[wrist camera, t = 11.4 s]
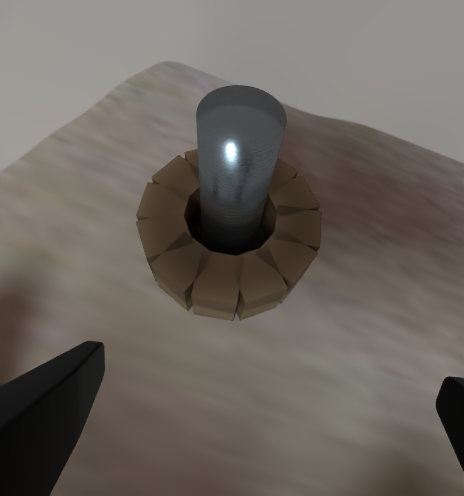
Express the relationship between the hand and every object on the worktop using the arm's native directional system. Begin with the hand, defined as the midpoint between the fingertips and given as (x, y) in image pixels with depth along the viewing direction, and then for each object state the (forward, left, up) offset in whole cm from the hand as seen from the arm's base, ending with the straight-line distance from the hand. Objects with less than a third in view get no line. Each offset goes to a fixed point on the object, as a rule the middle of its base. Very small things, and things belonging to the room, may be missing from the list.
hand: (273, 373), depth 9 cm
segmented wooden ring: (+10, -3, -13) cm, 17 cm away
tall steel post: (+10, -3, -13) cm, 17 cm away
